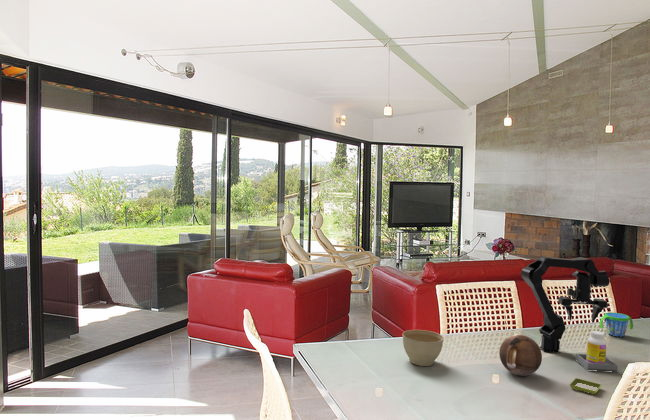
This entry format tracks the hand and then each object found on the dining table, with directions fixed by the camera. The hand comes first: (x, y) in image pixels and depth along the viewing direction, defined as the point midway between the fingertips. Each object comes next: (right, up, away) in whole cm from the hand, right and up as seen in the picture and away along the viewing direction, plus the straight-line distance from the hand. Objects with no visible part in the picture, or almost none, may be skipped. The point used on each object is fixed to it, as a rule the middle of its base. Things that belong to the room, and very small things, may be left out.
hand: (581, 321), depth 215 cm
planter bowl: (-75, -12, -21) cm, 78 cm away
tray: (-4, -14, -19) cm, 24 cm away
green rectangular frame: (-21, -15, -42) cm, 49 cm away
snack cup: (+30, -13, +25) cm, 41 cm away
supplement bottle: (-4, -13, -19) cm, 24 cm away
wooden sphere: (-40, -14, -30) cm, 51 cm away
